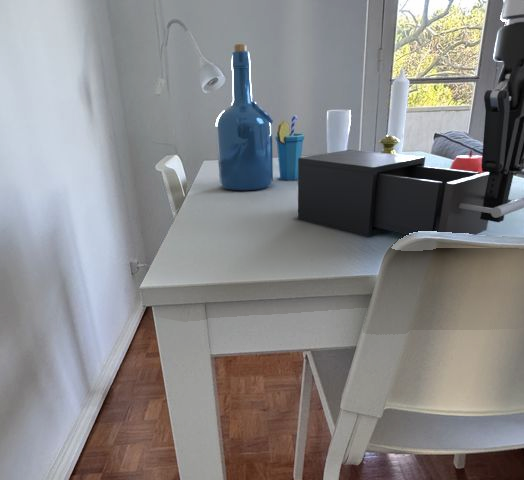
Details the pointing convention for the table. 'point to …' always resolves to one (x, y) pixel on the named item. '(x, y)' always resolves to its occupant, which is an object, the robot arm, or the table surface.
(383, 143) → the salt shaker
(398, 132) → the candle
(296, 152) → the cup
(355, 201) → the cabinet
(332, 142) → the drinking glass
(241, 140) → the wine bottle
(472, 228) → the drawer
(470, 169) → the apple
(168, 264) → the table surface
